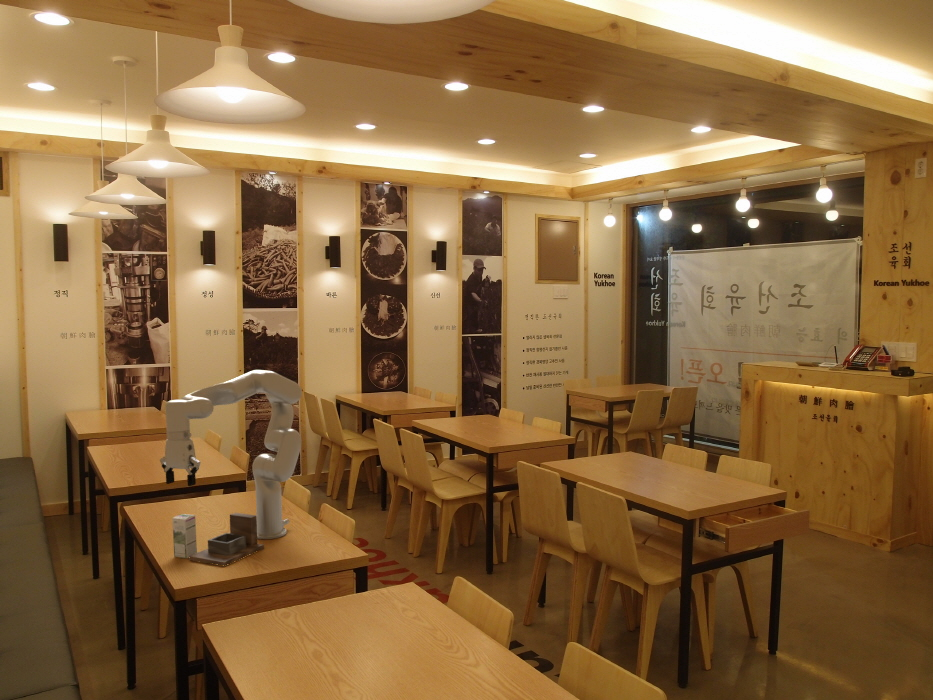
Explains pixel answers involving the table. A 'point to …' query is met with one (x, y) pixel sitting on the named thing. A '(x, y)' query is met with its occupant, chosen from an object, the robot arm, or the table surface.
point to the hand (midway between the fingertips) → (181, 484)
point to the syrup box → (184, 535)
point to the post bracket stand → (232, 542)
